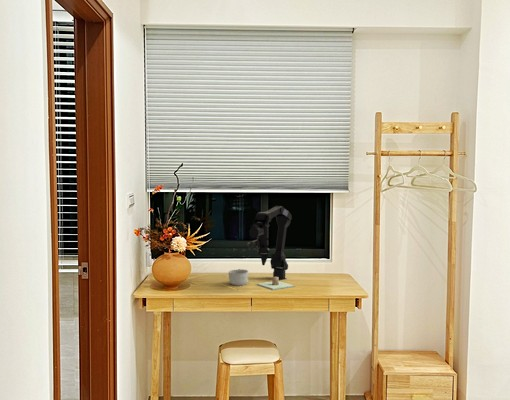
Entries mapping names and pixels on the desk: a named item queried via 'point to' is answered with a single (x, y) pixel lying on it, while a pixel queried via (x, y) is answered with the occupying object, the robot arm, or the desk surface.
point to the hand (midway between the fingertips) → (263, 263)
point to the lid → (275, 284)
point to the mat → (274, 289)
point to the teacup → (238, 277)
